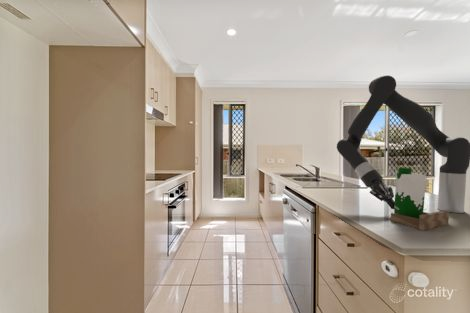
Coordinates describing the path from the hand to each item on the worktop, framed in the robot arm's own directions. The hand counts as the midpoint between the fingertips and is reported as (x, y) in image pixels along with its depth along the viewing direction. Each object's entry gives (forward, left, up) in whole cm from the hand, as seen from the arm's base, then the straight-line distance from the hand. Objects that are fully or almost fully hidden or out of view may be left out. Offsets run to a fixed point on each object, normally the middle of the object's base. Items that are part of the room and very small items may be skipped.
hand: (395, 208), depth 102 cm
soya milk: (0, +5, -4) cm, 6 cm away
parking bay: (0, +7, -4) cm, 8 cm away
